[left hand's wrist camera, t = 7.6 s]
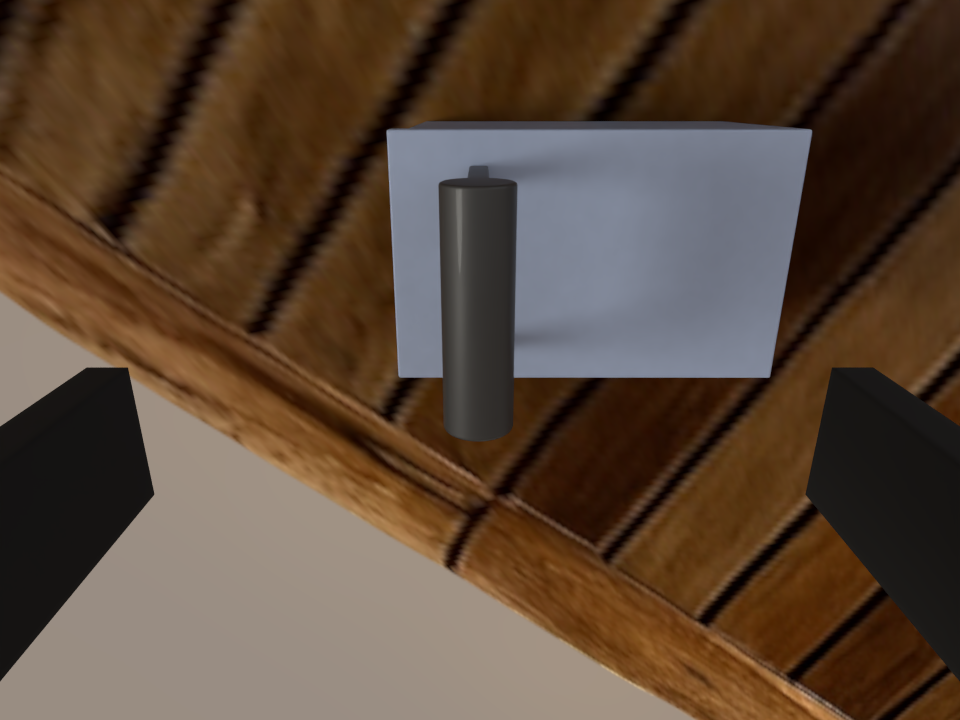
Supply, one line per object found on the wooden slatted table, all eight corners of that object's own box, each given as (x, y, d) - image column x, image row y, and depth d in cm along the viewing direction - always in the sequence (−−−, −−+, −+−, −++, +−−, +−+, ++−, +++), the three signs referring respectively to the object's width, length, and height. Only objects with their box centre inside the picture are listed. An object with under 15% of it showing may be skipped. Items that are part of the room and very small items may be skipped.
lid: (400, 370, 28) (369, 474, 20) (389, 128, 25) (346, 141, 17) (762, 370, 28) (870, 474, 20) (802, 128, 25) (952, 141, 17)
